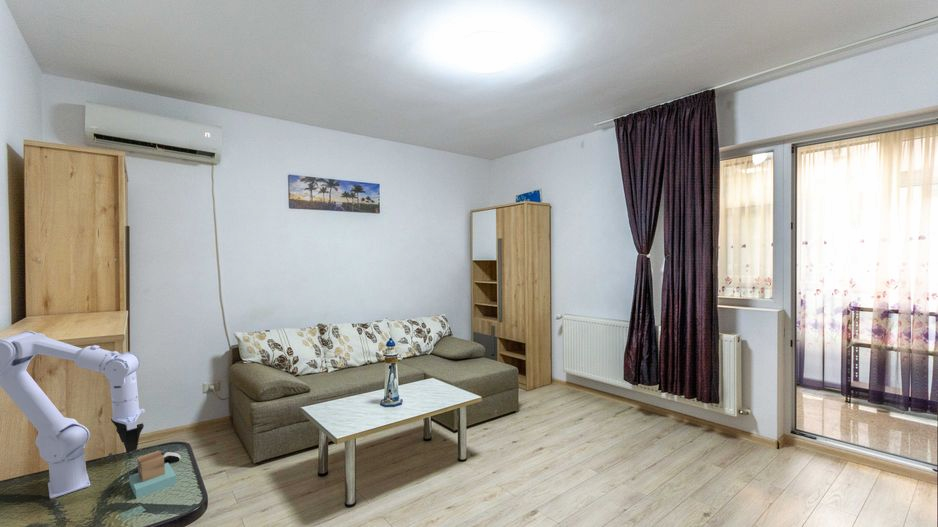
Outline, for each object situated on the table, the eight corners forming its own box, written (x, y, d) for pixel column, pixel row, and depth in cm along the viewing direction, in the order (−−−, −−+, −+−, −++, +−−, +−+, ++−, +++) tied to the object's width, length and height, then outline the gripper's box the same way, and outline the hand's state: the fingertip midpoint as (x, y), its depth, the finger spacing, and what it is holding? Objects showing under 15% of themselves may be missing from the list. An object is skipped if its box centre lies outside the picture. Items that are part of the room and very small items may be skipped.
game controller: (151, 475, 122) (139, 458, 123) (143, 485, 124) (131, 468, 125) (183, 457, 131) (172, 442, 132) (175, 467, 133) (164, 451, 134)
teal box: (129, 486, 119) (129, 475, 119) (168, 472, 126) (168, 462, 126) (136, 500, 113) (135, 489, 113) (177, 485, 120) (176, 475, 120)
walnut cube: (138, 474, 120) (137, 457, 119) (160, 467, 123) (158, 450, 123) (142, 482, 116) (141, 464, 116) (165, 474, 120) (163, 456, 119)
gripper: (148, 401, 116) (152, 449, 117) (137, 387, 126) (141, 431, 127) (115, 409, 111) (119, 460, 112) (106, 394, 121) (110, 440, 122)
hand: (129, 445), depth 120 cm, fingers open, 7 cm apart
